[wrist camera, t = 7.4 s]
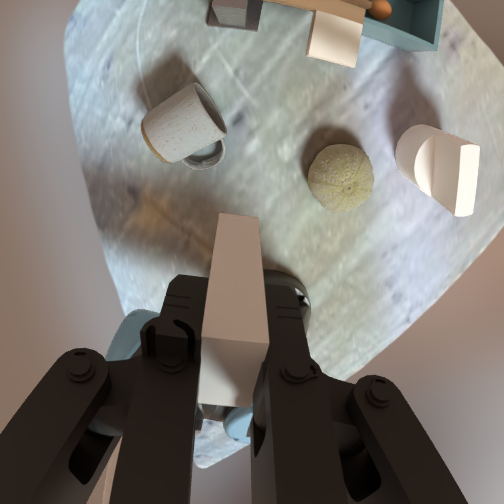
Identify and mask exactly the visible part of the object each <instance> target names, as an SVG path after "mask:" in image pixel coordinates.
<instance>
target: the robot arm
mask: <svg viewBox="0 0 504 504" xmlns="http://www.w3.org/2000/svg"><path fill="white" fill-rule="evenodd" d="M310 317H311V304H310V300H309V296H308V293H307V291H306V289H305V288H304V286H303V285H302V284H301V283H300V282H299V281H298V280H297V279H295V278H294V277H292V276H290V275H288V274H285V273H282V272H279V271H272V270H263V267H262V256H261V245H260V234H259V224H258V218H257V217H249V216H242V215H234V214H226V213H219V218H218V225H217V231H216V237H215V243H214V250H213V256H212V263H211V270H210V276H209V278H205V277H197V276H189V275H182V274H178V275H177V276H176V277H175V278H174V279H173V280H172V281H171V282H170V283H169V286H168V289H167V292H166V296H165V299H164V302H163V306H162V309H161V312H160V313H157V312H153V311H149V310H145V309H137V310H134V311H132V312H131V313H129V314H128V315H127V316H126V318H125V319H124V320H123V322H122V323H121V325H120V327H119V329H118V330H117V332H116V334H115V336H114V338H113V340H112V343H111V345H110V347H109V350H108V353H107V355H106V358H105V359H104V357H103V356H102V355H101V354H99V353H98V352H97V351H95V350H91V349H87V348H76V349H73V350H70V351H68V352H65V353H64V354H63V355H62V356H61V357H59V358H58V359H57V361H56V362H55V363H54V365H53V366H52V367H51V368H50V369H49V371H48V372H47V373H46V374H45V376H44V377H43V378H42V380H41V381H40V382H39V383H38V384H37V386H36V387H35V388H34V390H33V391H32V392H31V394H30V395H29V396H28V397H27V399H26V400H25V402H24V403H23V404H22V405H21V407H20V408H19V409H18V411H17V412H16V413H15V415H14V416H13V417H12V419H11V420H10V421H9V423H8V424H7V426H6V427H5V429H4V430H3V431H2V433H1V434H0V504H86V502H87V501H88V499H89V497H90V495H91V493H92V491H93V489H94V487H95V485H96V483H97V482H98V480H99V478H100V476H101V474H102V472H103V470H104V468H105V466H106V465H107V463H108V461H109V464H108V469H107V475H106V481H105V487H104V494H103V501H102V504H190V494H191V479H192V465H193V453H194V441H195V436H196V435H198V434H200V433H201V428H202V423H203V419H209V420H214V421H220V422H223V428H224V430H225V432H226V434H227V435H228V436H229V437H230V438H232V439H234V440H235V441H237V442H241V443H247V444H250V445H251V488H252V504H468V502H467V501H466V499H465V497H464V495H463V494H462V492H461V490H460V488H459V487H458V485H457V483H456V482H455V480H454V478H453V476H452V475H451V473H450V471H449V469H448V468H447V466H446V465H445V463H444V461H443V459H442V458H441V456H440V454H439V453H438V451H437V450H436V448H435V446H434V445H433V443H432V441H431V440H430V438H429V436H428V435H427V433H426V431H425V430H424V428H423V427H422V425H421V423H420V422H419V420H418V419H417V417H416V415H415V414H414V412H413V411H412V409H411V407H410V406H409V404H408V403H407V401H406V400H405V398H404V396H403V395H402V394H401V392H400V390H399V389H398V388H397V387H396V386H395V384H394V383H393V382H391V381H390V380H388V379H386V378H385V377H381V376H377V375H367V376H365V377H363V378H360V379H359V380H358V382H357V383H356V384H352V383H348V382H344V381H341V380H337V379H334V378H332V377H329V376H327V375H326V374H324V373H323V372H322V371H321V369H320V366H319V365H318V364H317V363H316V362H315V361H314V360H313V359H312V358H311V356H310V352H309V347H308V343H307V338H306V334H307V330H308V326H309V321H310Z"/></svg>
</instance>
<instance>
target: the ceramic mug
mask: <svg viewBox="0 0 504 504" xmlns="http://www.w3.org/2000/svg"><path fill="white" fill-rule="evenodd" d="M141 131H142V135H143V138H144V140H145V142H146V144H147V145H148V147H149V148H150V150H151V151H152V152H153V153H154V154H155V155H156V157H158V158H159V159H160V160H161V161H164V162H166V163H174V162H177V161H180V160H181V161H182V162H183V163H184V164H185V165H186V166H188V167H190V168H191V169H195V170H205V169H209V168H212V167H214V166H216V165H218V164H219V163H220V162H221V161H222V160H223V158H224V156H225V152H226V145H225V141H224V137H225V136H227V129H226V126H225V123H224V121H223V119H222V116H221V114H220V113H219V111H218V109H217V107H216V105H215V104H214V102H213V101H212V99H211V98H210V96H209V95H208V94H207V92H206V91H205V90H204V89H203V88H202V86H200V85H199V84H198V83H196V82H193V83H190V84H189V85H187V86H186V87H184V88H183V89H181V90H180V91H178V92H177V93H175V94H174V95H172V96H171V97H169V98H168V99H167V100H165V101H164V102H162V103H161V104H159V105H158V106H156V107H155V108H153V109H152V110H151V111H150V112H149V113H148V114H147V115H146V116H145V117H144V118H143V120H142V123H141ZM218 140H221V143H222V149H221V151H220V153H218V155H216V156H214V157H212V158H209V159H207V160H203V161H201V162H196V161H192V160H190V159H189V158H187V157H188V156H189V155H191V154H193V153H194V152H196V151H198V150H200V149H202V148H204V147H206V146H208V145H210V144H212V143H214V142H216V141H218Z"/></svg>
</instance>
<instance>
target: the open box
mask: <svg viewBox="0 0 504 504" xmlns="http://www.w3.org/2000/svg"><path fill="white" fill-rule="evenodd" d="M368 1H369V0H368ZM386 1H388V2H389V4H390V5H391V8H392V13H391V15H390V16H389V17H388V18H387V19H385V20H378V19H375V18H373V17H372V16H371V15H370V14H369V13H368V11H367V9H366V10H365V16H364V22H363V28H362V33H361V35H363V36H366V37H369V38H372V39H375V40H378V41H380V42H383V43H386V44H389V45H391V46H394V47H397V48H399V49H402V50H404V51H407V52H420V51H437V48H438V41H439V35H440V28H441V20H442V12H443V4H444V0H386Z"/></svg>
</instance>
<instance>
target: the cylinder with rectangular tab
mask: <svg viewBox="0 0 504 504" xmlns="http://www.w3.org/2000/svg"><path fill="white" fill-rule="evenodd" d="M479 151H480V147H479V146H478V145H475V144H473V143H471V142H469V141H466V140H464V139H462V138H459V137H457V136H454V135H452V134H449V133H447V132H444V131H442V130H439V129H437V128H434V127H432V126H429V125H424V124H420V125H414V126H412V127H410V128H408V129H407V130H406V131H405V132H404V133H403V134H402V136H401V137H400V139H399V140H398V143H397V146H396V152H395V159H396V164H397V167H398V170H399V171H400V173H401V174H402V175H403V176H404V177H405V178H406V179H407V180H409V181H410V182H411V183H413V184H414V185H415V186H417V187H418V188H419V189H420V190H422V191H423V192H424V193H426V194H427V195H429V196H431V197H433V198H434V199H435V200H436V201H438V202H439V203H440V204H441V205H443V206H444V207H445V208H446V209H447V210H449V211H450V212H451V213H452V214H453V215H455V216H462V217H464V216H467V215H471V214H472V213H473V208H474V201H475V193H476V185H477V175H478V165H479Z"/></svg>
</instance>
